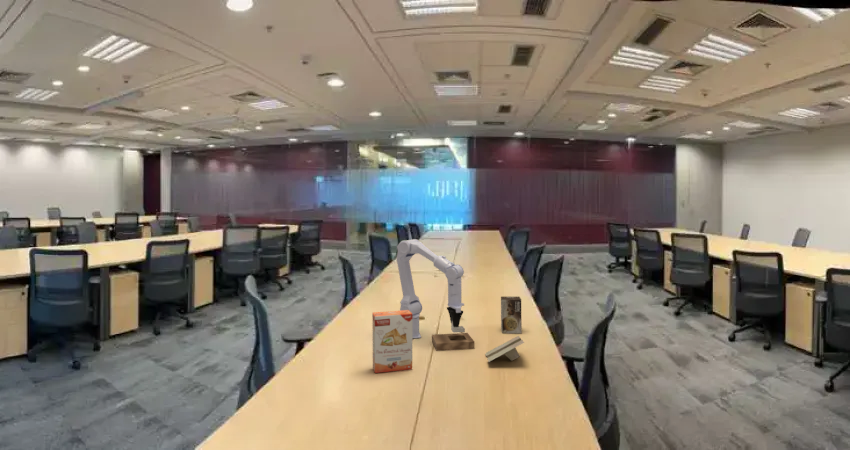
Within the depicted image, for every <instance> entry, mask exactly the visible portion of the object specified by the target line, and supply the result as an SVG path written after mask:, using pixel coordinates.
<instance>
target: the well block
mask: <svg viewBox="0 0 850 450" xmlns="http://www.w3.org/2000/svg"><path fill="white" fill-rule="evenodd" d="M431 343H432V344H433V346H434V349H435V350H436V352H438V351H439V352H440V351H456V350H458V351H459V350H475V349H476V347H475V340H474V339H473V338H472V337H471V335H470V334H469V333H468V332H454V333H439V334H431Z"/></svg>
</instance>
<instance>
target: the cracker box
mask: <svg viewBox="0 0 850 450" xmlns="http://www.w3.org/2000/svg"><path fill="white" fill-rule="evenodd" d="M372 369H373V372H374V374H380V373H388V372H399V371H408V370H409V371H410V370H413V338H412V313H411V312H410V311H409V310H402V311H400V310H388V311H376V312H375V311H374V312H372Z"/></svg>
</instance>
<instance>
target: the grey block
mask: <svg viewBox="0 0 850 450" xmlns="http://www.w3.org/2000/svg"><path fill="white" fill-rule="evenodd" d="M450 323H451V322H450ZM450 327H451V329H450V330H451V332H453V333H466V328H465V327H464V326H463V325H459V327H454V326H453V321H452V323H451V325H450Z"/></svg>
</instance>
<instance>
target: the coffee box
mask: <svg viewBox="0 0 850 450" xmlns="http://www.w3.org/2000/svg"><path fill="white" fill-rule="evenodd" d="M522 325H523V324H522V298H521V297H520V296H500V331H501V333H502V334H522V331H523V330H522V329H523V328H522V327H523V326H522Z"/></svg>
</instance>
